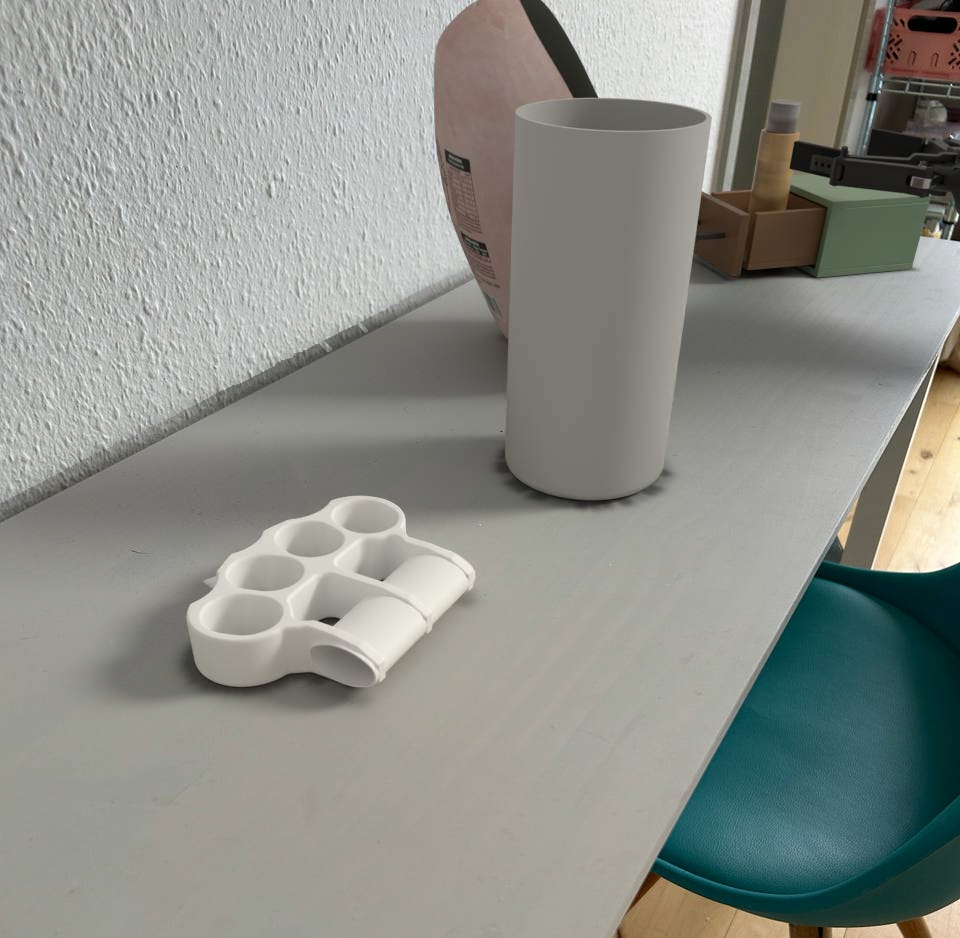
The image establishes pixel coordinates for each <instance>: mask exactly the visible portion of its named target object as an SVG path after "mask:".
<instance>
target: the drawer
mask: <svg viewBox="0 0 960 938" xmlns="http://www.w3.org/2000/svg"><path fill="white" fill-rule="evenodd" d="M751 190H752V189H741V190H738V189H737V190H725V191H711V192H710V194H709V193H706V192H705V191H703V190H702V193H701V200H700V208H699V215H698V222H697V229H696V237H695V244H694V251H693V255H695V256H697V257H699V258H700V259H702V260H704V261H706V262H707V263H709V264H710V265H712V266H714V267H715V268H717V269H718V270H721V271H722V272H724V273H726V274H727V275H728V276H731V277H735V276H741V273H742V268H743V269H745V270H747V271H753V270H755V271H756V270H764V269H765V270H766V269H767V270H768V269H776V268H777V269H778V268H788V267H796V266H801V265H813V264H816V262H817V257H818V252H819V248H820V243H821V238H822V234H823V229H824V224H825V219H826V215H827V210H828V207H826V206H823V205H821V204H819V203H816V202H814V201H812V200H809V199H807V198H804V197H802V196H800V195H797V194H795V193H793V192H790V191H789V196H788V201H787V206H786V210H782V211H768V212H754V215H753V221H752V227H751V233H750V239H749V245H748V250H746V249H745V244H746V238H747V232H748V226H749V220H750V214H748V208H749V202H750V196H751Z"/></svg>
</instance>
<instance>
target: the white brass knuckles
mask: <svg viewBox="0 0 960 938" xmlns="http://www.w3.org/2000/svg"><path fill="white" fill-rule="evenodd" d="M406 519H407V518H406V515H405V513H404V511H403V510H402V509H401V508H400V506H398V505H397V504H396V503H394V502H392V501H390V500H387V499H385V498H381V497H377V496H370V495H350V496H349V495H348V496H342V497H337V498H334V499H331V500H330V501H329V502H328V503H327V504H326V506H324V507H323V508H322V509H319V510H318V511H316V512H314V513H312V514H309V515H305V516H302V517H297V518H289V519H286V520H284V521H282V522H279V523H277V524H275V525H273V526H270V527H269V528H265V529H264V530H263V531H262V534H261V536H260V537H259V539H258V540H256V542H254V543H252V545H250V546H248V547H247V548H244V549H242V550H239V551H236V552H233V553H230V554H229V555H228V556H227V558H226V559H225V560H224V562H223V563H222V564H221V565H220V567H219V568H218V569H216V571H215V576H211V577H209V578H206V579H204V580H202V582H203V583H204V584H205V585H207V587H209V588H210V589H211V590H210V591H209V592H208V593H207V594H206V595H204V596H202V597H201V598H199V599H198V600H196V601H193V602H191V603H190V604H189V605H188V608H187V610H186V615H185V616H186V625H187V629H188V634H189V635H188V636H189V639H190V645H191V649H192V650H191V651H192V655H193V659H194V663H195V666H196V668H197V669H198V671H199V672H200V673H201V674H202V675H203V676H204V677H205V678H206V679H208V680H210V681H211V682H213V683H217V684H219V685H223V686H227V687H236V688H247V687H249V688H250V687H257V686H261V685H266V684H269V683H272V682H275V681H277V680H279V679H281V678H283V677H285V676H287V675H290V674H302V673H304V674H305V673H314V674H316V675H319V676H322V677H323V678H324V677H325V678H327V679H330V680H333V681H335V682H338V683H340V684H342V685H346V686H349V687H353V688H370V687H373V686H374V685H375V684H379V683H381V682H383V680H384V679H385V678H387V677H386V676H387V675H386V674H387V673H388V671H389V670H390V669H391V668H392V667H393V666H394V665H395V664H396V663H397V662H398V661H399V660H400V659H401V658H402V657H403V655H405V654H406V653H407V651H409V650H410V648H412V647H413V646H414V644H415V643H417V642H418V640H419V639H421V637H422V636H425V635H427V634H429V633H430V632H431V631H432V630H433V625H434V624H435V623H436V622H437V621H438V620H439V619H440V618H441V617H442V616H444V614H445V613H446V612H447V611H448V610H449V609H450V608H451V607H452V606H453V605H454V604H455V603H456V602H457V600H459V599H460V597H462V596H463V594H464V593H467V592H470V591H471V590H472V589H473V588H474V584H475V582H476V578H477V577H476V575H477V574H476V570H475V569H474V567H473V566H472V565H471V563H469V561H467V560H466V559H465V558H464V557H462V556H461V555H459V554H457V553H456V552H454V551H451V550H450V549H447V548H443V547H441V546H438V545H437V544H434V543H431V542H428V541H424V540H421V539H418V538H414V537H411V536H409V535H408V534H407V522H406V521H407V520H406ZM382 580H383V581H382ZM326 618H337V619H339V620H338V621H337V622H336V623H335V624H334V625H330V624H327V623H324V622H321V620H323V619H326Z"/></svg>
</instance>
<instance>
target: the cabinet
mask: <svg viewBox="0 0 960 938" xmlns="http://www.w3.org/2000/svg"><path fill="white" fill-rule="evenodd" d="M829 181H830V178H827V177H822V176H818V175H814V174H809V173H801V174H793V175H792V180H791V185H790V190H789V191H790V192H793V193H795V194H797V195H800V196H802V197H804V198H807V199H809V200H812V201H814V202H816V203H819V204H821V205H823V206H826V207H828V210H827V215H826V219H825V224H824V229H823V234H822V238H821V243H820V248H819V252H818V257H817V262H816V264H813V265H801V266H795V268H798V269H799V270H801V271H803V272H805V273H807V274H809V275H811V276H812V277H814V278H817V279H819V278H828V277H840V276H850V275H861V274H872V273H873V274H874V273H883V272H894V271H906V270H912V269H913V266H914V262H915V259H916V258H915V257H916V254H917V252H918V251H917V250H918V246H919V243H920V240H921V236H922V232H923V230H924V229H923V228H924V225H925V221H926V216H927V214H928V209H929V205H930V202H931V199H932V197H933V196H932V195H931V194H929V196H928V197H925V198H920V197H919V196H914V195H909V194H904V193H896V192H887V191H879V190H870V189H861V188H853V187H844V186H832V185H830V184H829Z"/></svg>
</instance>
